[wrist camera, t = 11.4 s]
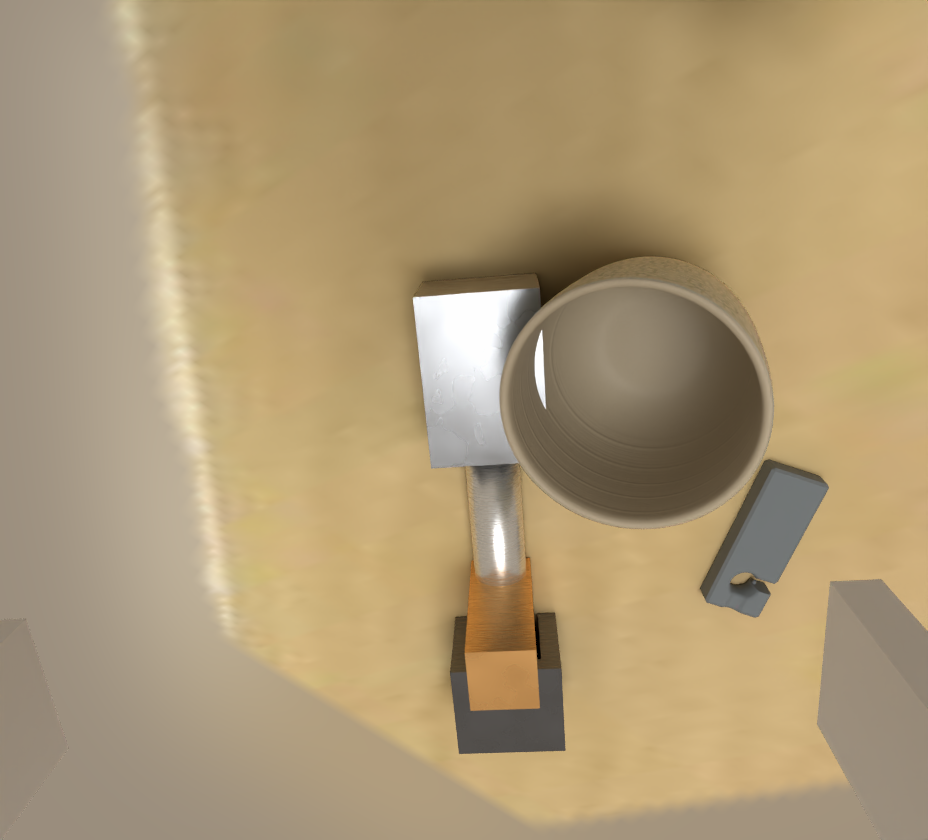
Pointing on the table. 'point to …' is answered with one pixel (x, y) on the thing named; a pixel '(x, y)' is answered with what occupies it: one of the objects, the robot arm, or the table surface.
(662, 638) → the table surface
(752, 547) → the bracket
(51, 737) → the robot arm
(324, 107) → the table surface
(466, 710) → the socket
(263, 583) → the table surface
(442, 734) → the table surface
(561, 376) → the planter
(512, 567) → the orange and grey piece
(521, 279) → the grey block
